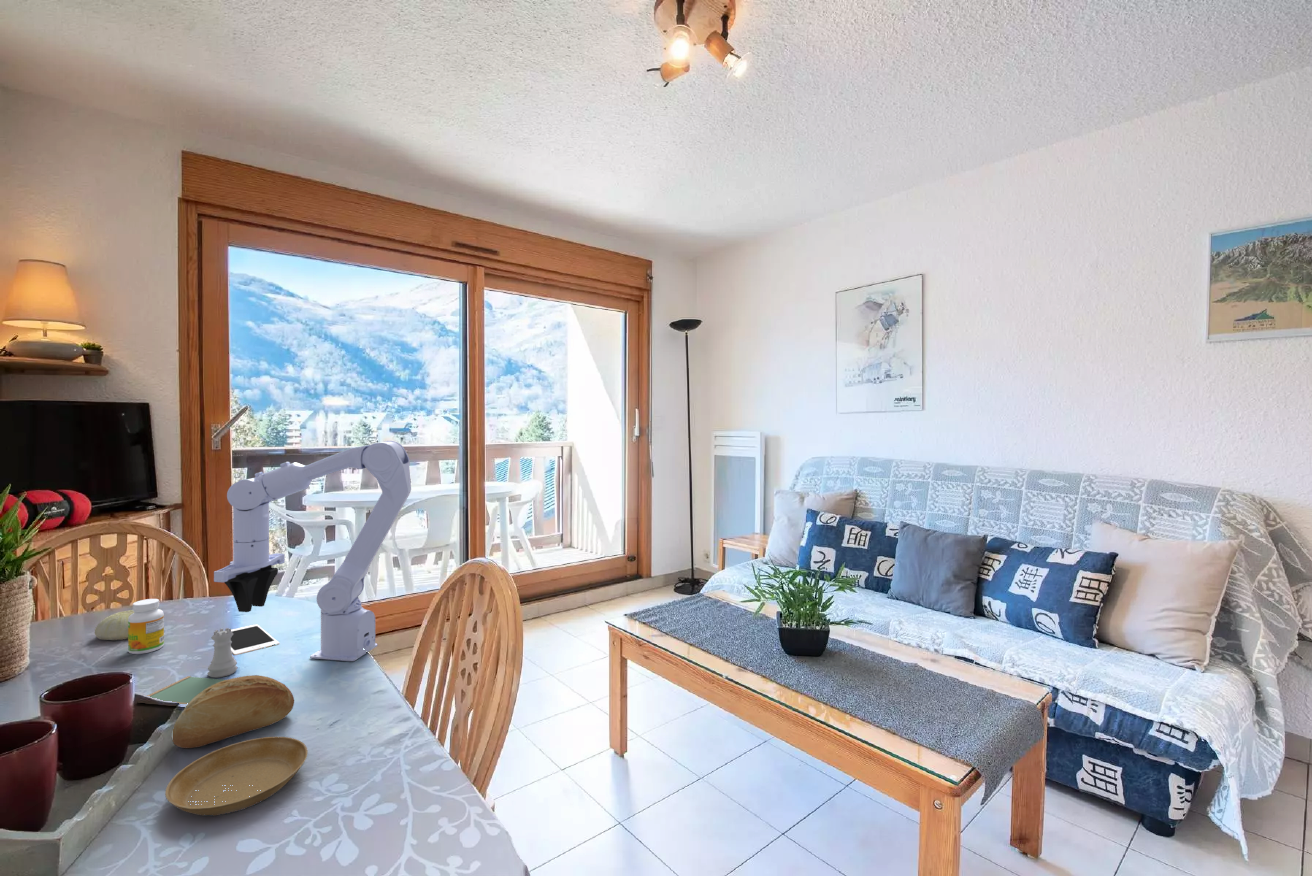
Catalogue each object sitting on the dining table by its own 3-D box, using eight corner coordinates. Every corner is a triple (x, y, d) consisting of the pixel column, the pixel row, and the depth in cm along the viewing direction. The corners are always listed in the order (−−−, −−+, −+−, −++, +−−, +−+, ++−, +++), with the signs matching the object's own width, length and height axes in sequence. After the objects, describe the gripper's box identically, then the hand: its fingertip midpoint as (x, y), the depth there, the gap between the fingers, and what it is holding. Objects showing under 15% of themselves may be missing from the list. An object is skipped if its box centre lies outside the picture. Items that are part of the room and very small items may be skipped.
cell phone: (234, 657, 112) (234, 654, 112) (214, 636, 123) (214, 633, 123) (280, 645, 118) (280, 642, 118) (257, 626, 129) (257, 623, 129)
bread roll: (301, 727, 87) (301, 676, 87) (174, 767, 77) (174, 709, 76) (287, 704, 94) (287, 656, 94) (169, 737, 84) (169, 684, 83)
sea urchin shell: (166, 622, 124) (131, 604, 119) (133, 656, 119) (96, 638, 114) (151, 614, 129) (117, 596, 124) (118, 646, 124) (82, 629, 119)
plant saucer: (238, 837, 65) (237, 815, 64) (132, 819, 67) (131, 797, 67) (333, 761, 79) (333, 742, 79) (243, 748, 82) (242, 730, 82)
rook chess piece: (221, 679, 102) (220, 636, 102) (200, 677, 103) (200, 633, 102) (243, 669, 106) (243, 627, 106) (224, 666, 107) (223, 625, 107)
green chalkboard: (248, 683, 101) (248, 680, 101) (201, 709, 92) (201, 706, 92) (188, 678, 102) (188, 676, 102) (136, 703, 93) (136, 700, 93)
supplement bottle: (122, 651, 113) (121, 603, 112) (154, 642, 118) (154, 596, 117) (137, 656, 111) (137, 607, 110) (170, 646, 116) (169, 599, 115)
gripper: (262, 531, 118) (263, 595, 118) (198, 546, 103) (199, 620, 104) (293, 533, 117) (293, 597, 117) (233, 548, 103) (233, 622, 103)
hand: (251, 608), depth 111 cm, fingers open, 3 cm apart
